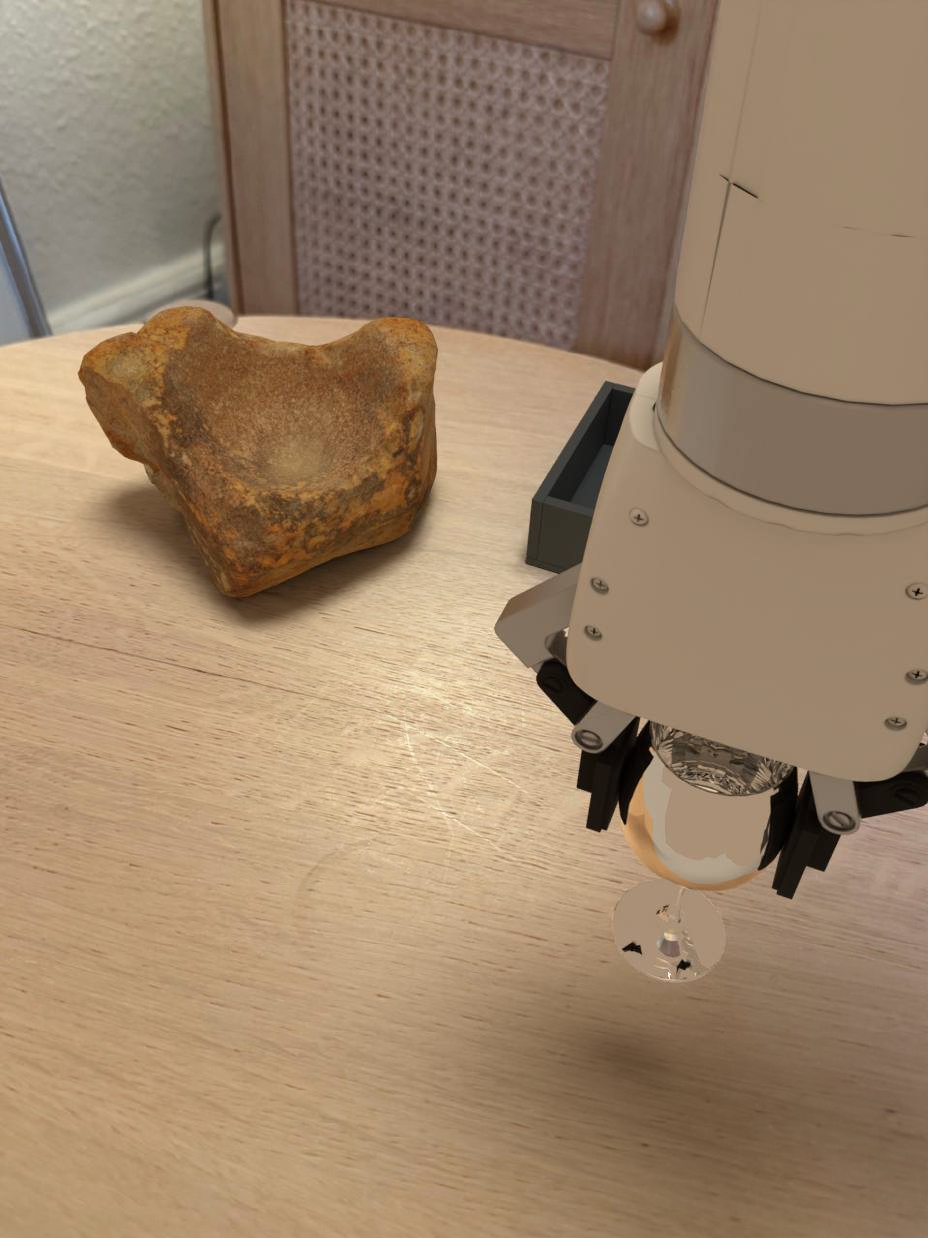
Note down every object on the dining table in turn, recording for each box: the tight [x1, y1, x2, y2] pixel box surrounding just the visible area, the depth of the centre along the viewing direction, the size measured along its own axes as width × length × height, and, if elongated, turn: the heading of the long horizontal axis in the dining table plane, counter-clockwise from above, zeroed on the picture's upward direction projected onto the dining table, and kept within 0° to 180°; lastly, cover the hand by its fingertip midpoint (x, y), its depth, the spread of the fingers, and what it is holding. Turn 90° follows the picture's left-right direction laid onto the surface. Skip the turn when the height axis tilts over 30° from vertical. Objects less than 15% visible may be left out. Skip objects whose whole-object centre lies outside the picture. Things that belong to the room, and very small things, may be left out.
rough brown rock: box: [77, 305, 439, 598], centre depth 70 cm, size 23×17×15 cm
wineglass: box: [611, 719, 800, 984], centre depth 38 cm, size 6×6×12 cm
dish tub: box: [525, 380, 636, 574], centre depth 75 cm, size 16×16×6 cm
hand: (697, 827), depth 38 cm, fingers closed on wineglass, 5 cm apart
